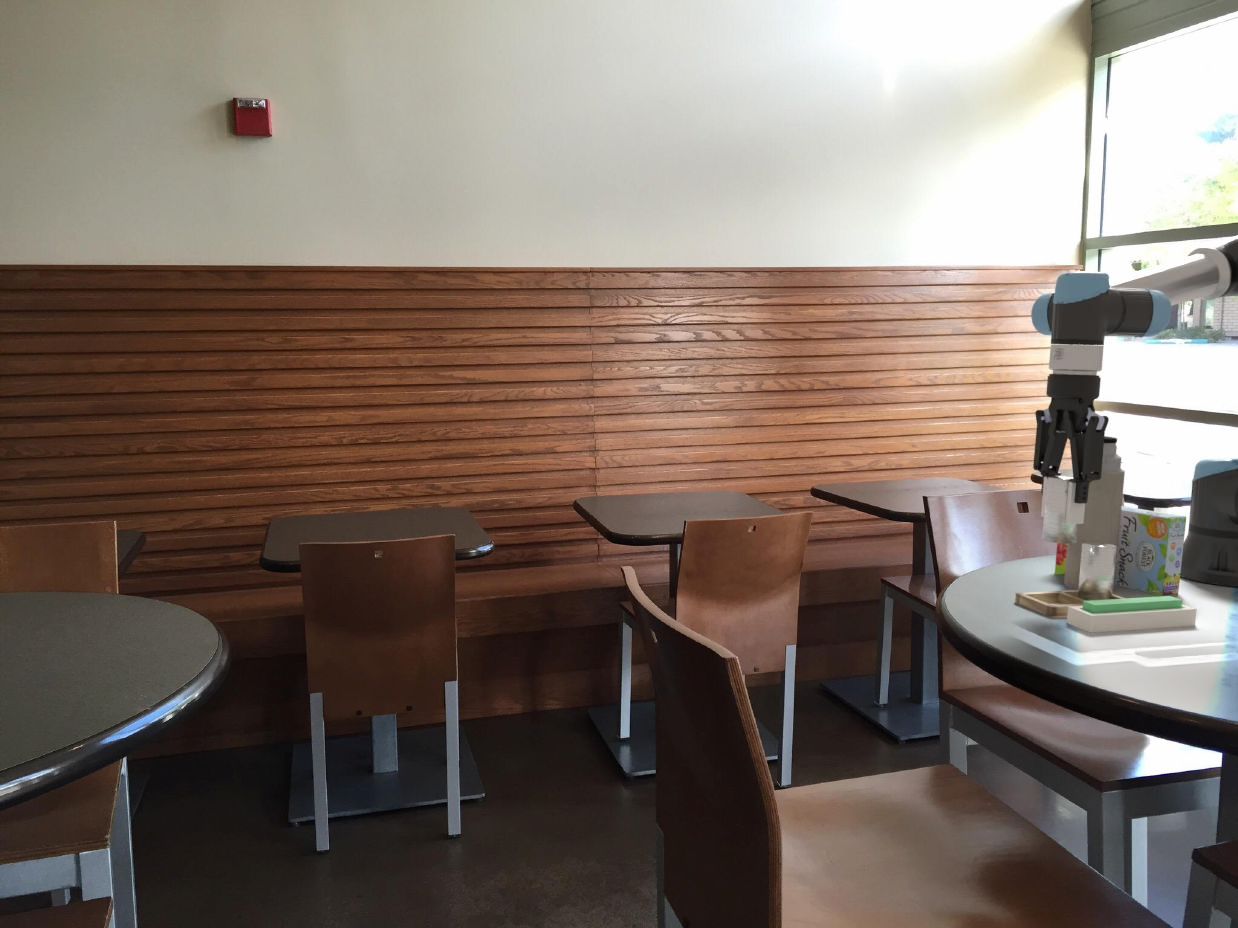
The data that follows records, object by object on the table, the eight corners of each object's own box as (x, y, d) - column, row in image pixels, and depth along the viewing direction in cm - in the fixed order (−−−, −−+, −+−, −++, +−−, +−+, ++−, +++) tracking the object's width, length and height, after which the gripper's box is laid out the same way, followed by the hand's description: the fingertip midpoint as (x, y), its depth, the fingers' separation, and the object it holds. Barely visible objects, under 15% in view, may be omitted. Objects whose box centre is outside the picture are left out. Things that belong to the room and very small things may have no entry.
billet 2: (1095, 600, 161) (1100, 541, 159) (1118, 608, 156) (1123, 547, 154) (1070, 602, 159) (1075, 542, 158) (1092, 610, 154) (1097, 548, 153)
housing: (1167, 625, 152) (1170, 600, 152) (1194, 634, 148) (1196, 609, 147) (1065, 631, 148) (1068, 606, 147) (1089, 641, 143) (1091, 615, 142)
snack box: (1180, 601, 168) (1188, 515, 166) (1160, 605, 165) (1169, 517, 163) (1071, 574, 186) (1077, 496, 184) (1052, 577, 183) (1058, 498, 181)
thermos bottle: (1106, 590, 174) (1119, 435, 170) (1119, 602, 166) (1134, 439, 162) (1058, 587, 175) (1071, 433, 172) (1069, 598, 167) (1083, 437, 164)
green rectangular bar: (1167, 620, 151) (1169, 595, 150) (1179, 625, 148) (1182, 599, 148) (1080, 626, 147) (1083, 600, 146) (1092, 631, 144) (1094, 605, 144)
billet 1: (1062, 536, 157) (1067, 475, 156) (1083, 543, 152) (1089, 480, 151) (1035, 537, 156) (1040, 476, 155) (1056, 543, 151) (1061, 480, 150)
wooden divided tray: (1092, 604, 164) (1094, 587, 163) (1138, 621, 154) (1140, 603, 154) (1011, 609, 159) (1012, 591, 159) (1053, 627, 150) (1054, 608, 149)
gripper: (1016, 370, 158) (1005, 510, 161) (1096, 374, 141) (1082, 531, 144) (1054, 371, 160) (1043, 509, 163) (1138, 375, 143) (1124, 530, 146)
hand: (1061, 519), depth 154 cm, fingers closed on billet 1, 5 cm apart
